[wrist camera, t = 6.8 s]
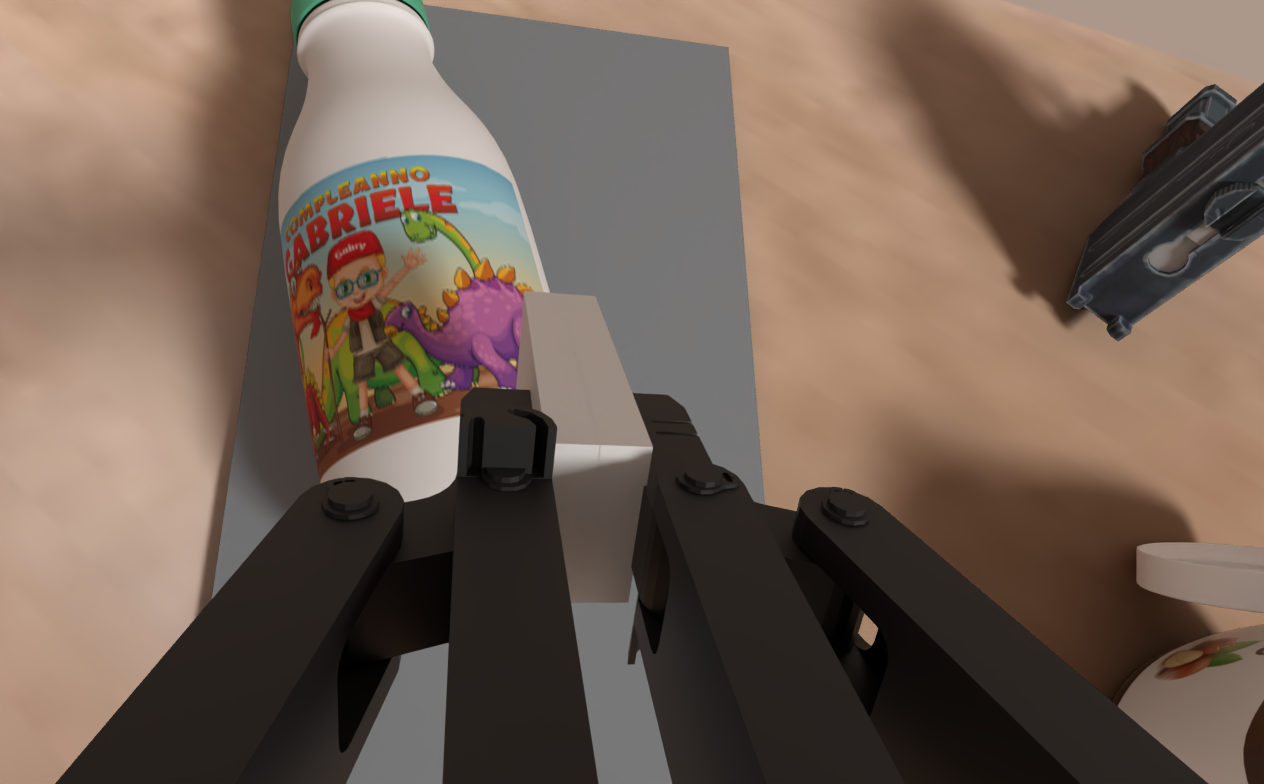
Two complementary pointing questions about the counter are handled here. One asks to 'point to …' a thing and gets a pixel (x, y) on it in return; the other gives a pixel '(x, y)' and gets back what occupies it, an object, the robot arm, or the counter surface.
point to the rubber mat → (573, 264)
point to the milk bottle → (395, 247)
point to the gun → (1178, 211)
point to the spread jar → (1205, 664)
